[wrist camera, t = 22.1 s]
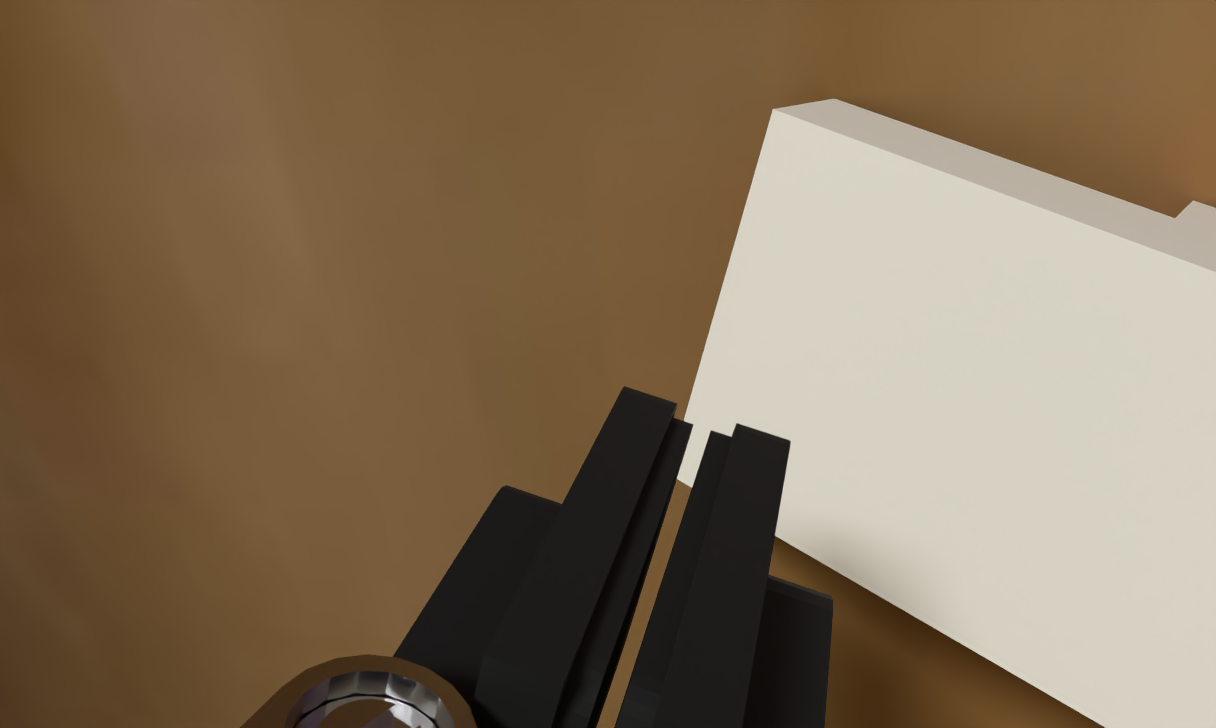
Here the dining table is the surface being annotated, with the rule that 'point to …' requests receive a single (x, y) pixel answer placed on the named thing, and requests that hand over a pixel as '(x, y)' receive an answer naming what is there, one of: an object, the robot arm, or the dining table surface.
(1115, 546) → the domino
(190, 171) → the dining table surface
